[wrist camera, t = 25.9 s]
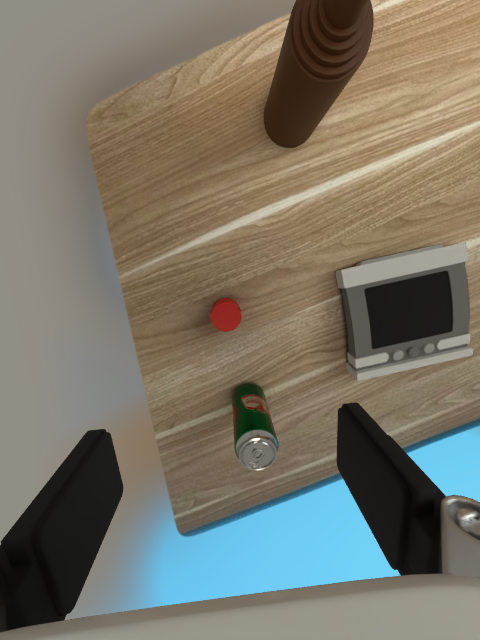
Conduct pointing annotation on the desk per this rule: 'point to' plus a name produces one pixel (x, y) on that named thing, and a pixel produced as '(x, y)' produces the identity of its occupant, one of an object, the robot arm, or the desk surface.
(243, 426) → the soda can
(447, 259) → the alarm clock
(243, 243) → the desk surface
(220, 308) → the cap
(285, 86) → the bottle
